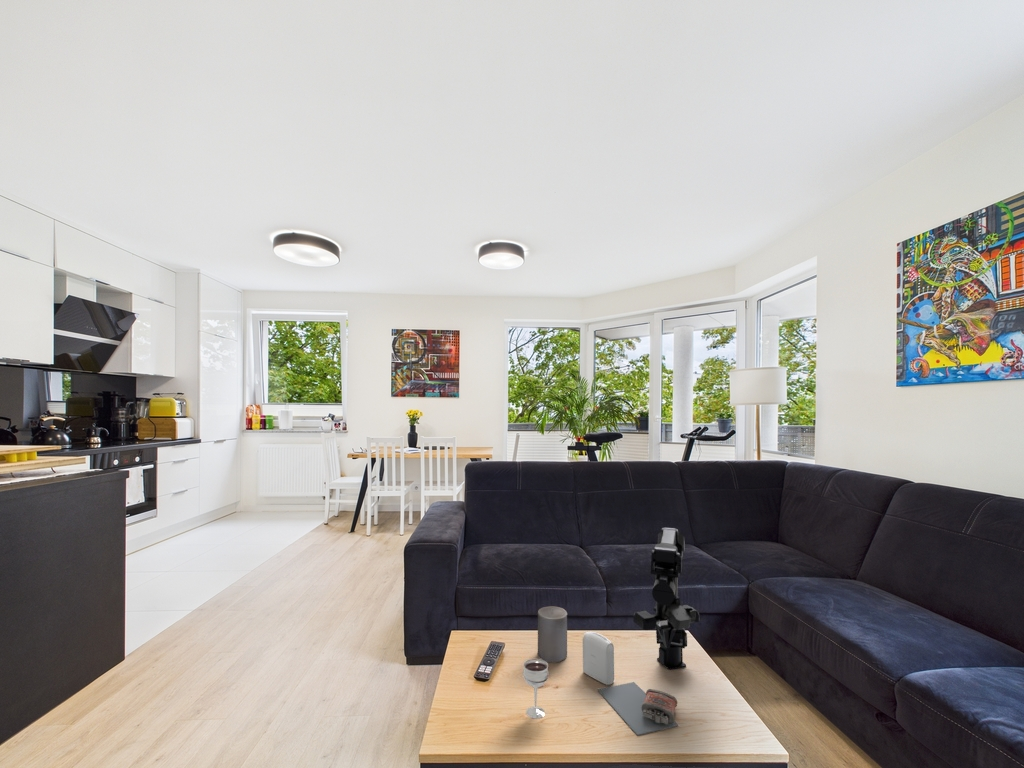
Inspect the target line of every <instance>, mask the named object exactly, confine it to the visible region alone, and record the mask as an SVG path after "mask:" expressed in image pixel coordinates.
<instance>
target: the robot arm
mask: <svg viewBox="0 0 1024 768" xmlns="http://www.w3.org/2000/svg"><path fill="white" fill-rule="evenodd" d="M657 537H658V538H657V544H655V545H654V548H653V549H651V557H650V558H651V560H650V561H651V562H650V575H655V581H654V583H653V587H652V590H651V591H652V592H651V593H652V594H651V595H652V598H653V599H654V601H655V606H653V611H654V612H655V613H654V614H651V613H650V612H648V611H647V610H643V611H636V612H634V614H633V623H634V624H636V625H637V626H638V627H639V628H641V629H642V630H645V631H649V630H654V629H655V636H656V637H655V638H656V644H658V645H659V647H658V657H657V658H656V660H657V661H658V662H659V663H660V664H662V665H663V667H665V668H667V669H668V670H674V669H680V668H685V667H687V663H684V661H683V654H684V653H683V649H685V648H686V647H688V633H687V632H686V629H690V625H691V624H693V623H700V613H699V611H698V610H697V609H695V608H694V607H692V606H690V605H688V604H682V603H681V599H680V597H679V596H678V595H679V594H678V589H679V588H678V583H679V582H678V579H679V578H680V574H682V568H683V567H682V566H683V564H682V563H683V561H682V560H683V555H684V554H683V553H684V552H685V551H686V549H685V546H686V544H685V535H682V534H681V533H680V532H679V529H677V528H675V527H662V528H661V532H659V533H658V534H657Z"/></svg>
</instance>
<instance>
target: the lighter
mask: <svg viewBox="0 0 1024 768" xmlns="http://www.w3.org/2000/svg"><path fill="white" fill-rule="evenodd" d="M645 693H646V697H645V700H644V703H643V704H642V712H643V716H645V717H647V718H650V719H653V720H654V721H655V722H657V723H661V722H662V723H664V724H668V723H672V722H673V721H675V711H676V708H677V706H678V700H677V698H676V697H675V696H674V695H671V694H670V693H667V692H665V691H662V690H658V689H652V688H648V689H647V690H646V691H645Z"/></svg>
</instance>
